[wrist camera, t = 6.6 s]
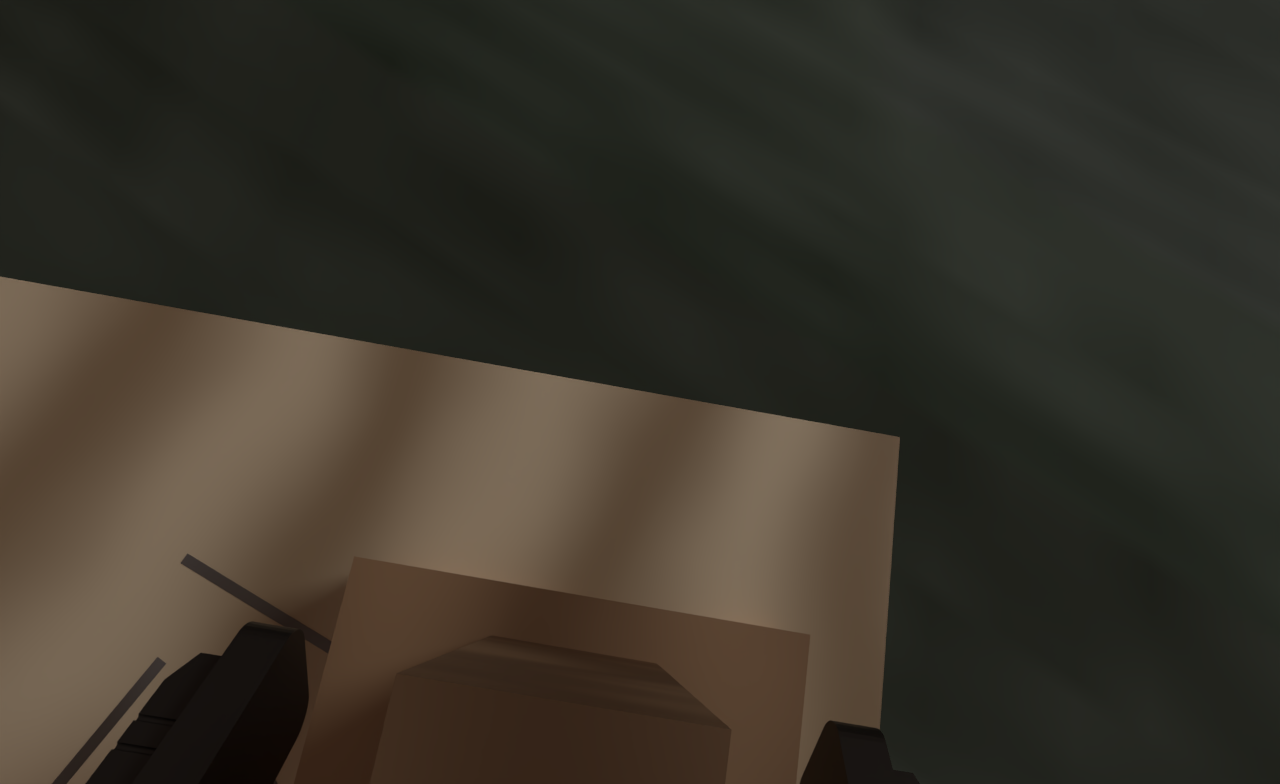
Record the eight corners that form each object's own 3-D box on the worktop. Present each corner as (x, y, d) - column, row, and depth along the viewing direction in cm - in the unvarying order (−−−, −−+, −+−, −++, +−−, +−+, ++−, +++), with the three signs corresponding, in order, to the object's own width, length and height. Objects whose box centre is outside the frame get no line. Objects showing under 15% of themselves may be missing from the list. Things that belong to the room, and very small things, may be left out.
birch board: (876, 448, 20) (900, 437, 18) (818, 1194, 15) (842, 1256, 14) (-105, 274, 19) (-162, 247, 18) (-455, 999, 15) (-568, 1041, 13)
